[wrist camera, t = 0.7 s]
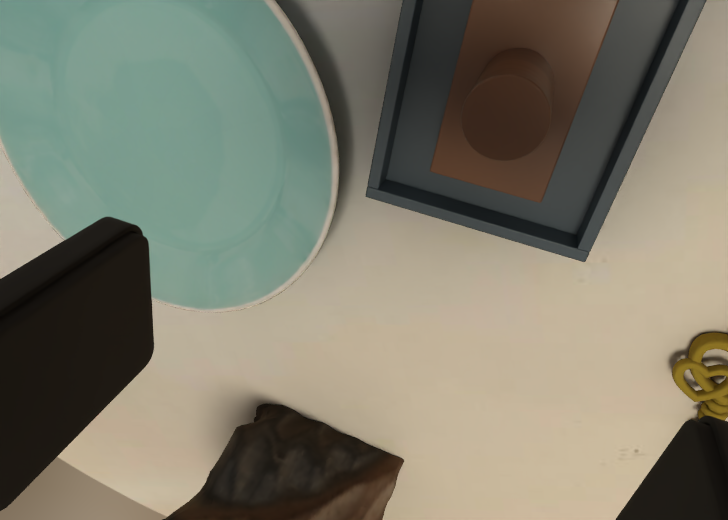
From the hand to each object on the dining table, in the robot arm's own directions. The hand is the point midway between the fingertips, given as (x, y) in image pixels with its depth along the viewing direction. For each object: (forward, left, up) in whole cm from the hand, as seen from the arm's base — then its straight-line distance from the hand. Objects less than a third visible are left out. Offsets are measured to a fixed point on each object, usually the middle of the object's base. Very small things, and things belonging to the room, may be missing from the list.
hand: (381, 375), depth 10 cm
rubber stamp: (-2, +1, -20) cm, 20 cm away
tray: (-2, +1, -20) cm, 20 cm away
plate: (+6, -17, -20) cm, 28 cm away
